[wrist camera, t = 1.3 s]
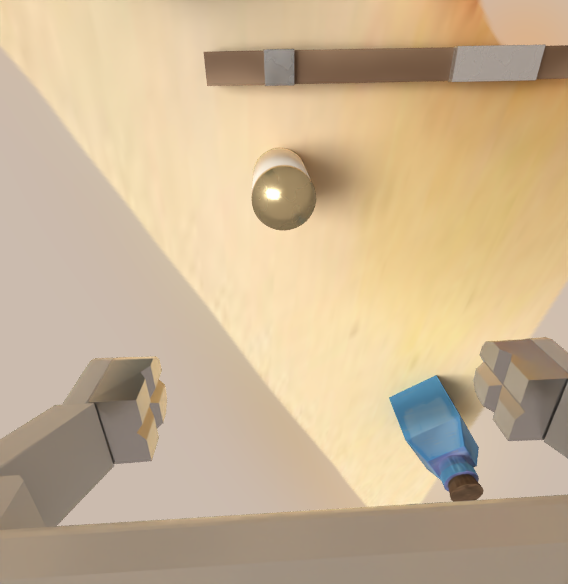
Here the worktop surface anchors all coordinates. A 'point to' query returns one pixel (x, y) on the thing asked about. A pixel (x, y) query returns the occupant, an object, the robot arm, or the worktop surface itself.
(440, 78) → the walnut fence
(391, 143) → the worktop surface
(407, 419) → the perfume bottle
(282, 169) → the round canister
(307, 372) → the worktop surface
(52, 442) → the robot arm
